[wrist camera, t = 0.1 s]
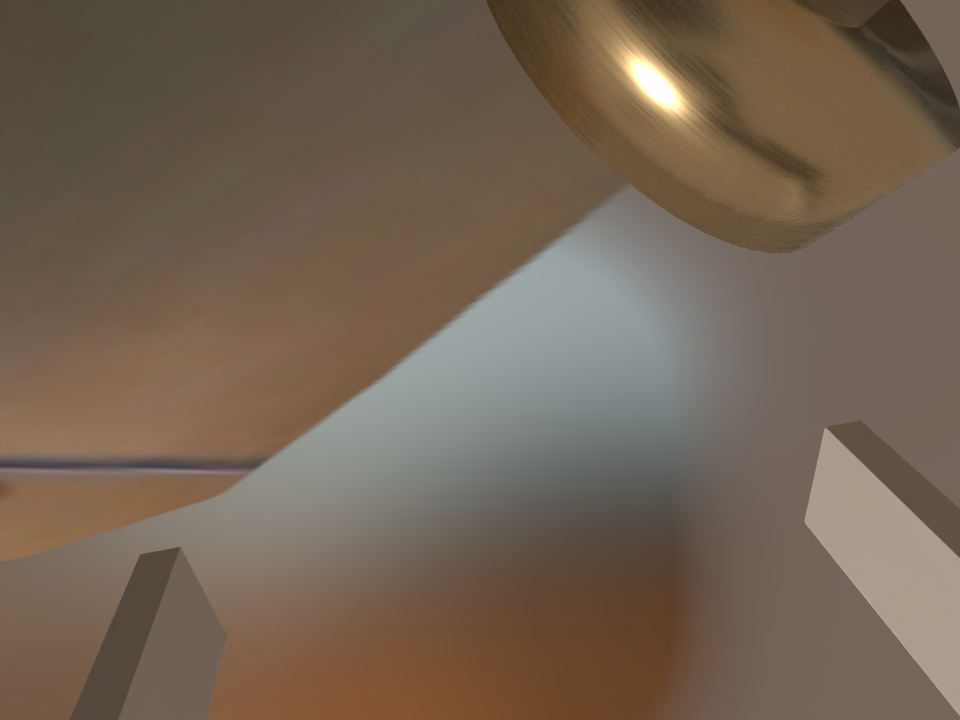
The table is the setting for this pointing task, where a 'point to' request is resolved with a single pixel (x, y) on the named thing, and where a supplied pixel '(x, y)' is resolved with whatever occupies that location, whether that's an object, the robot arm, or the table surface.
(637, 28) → the shaft
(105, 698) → the robot arm
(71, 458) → the table surface
